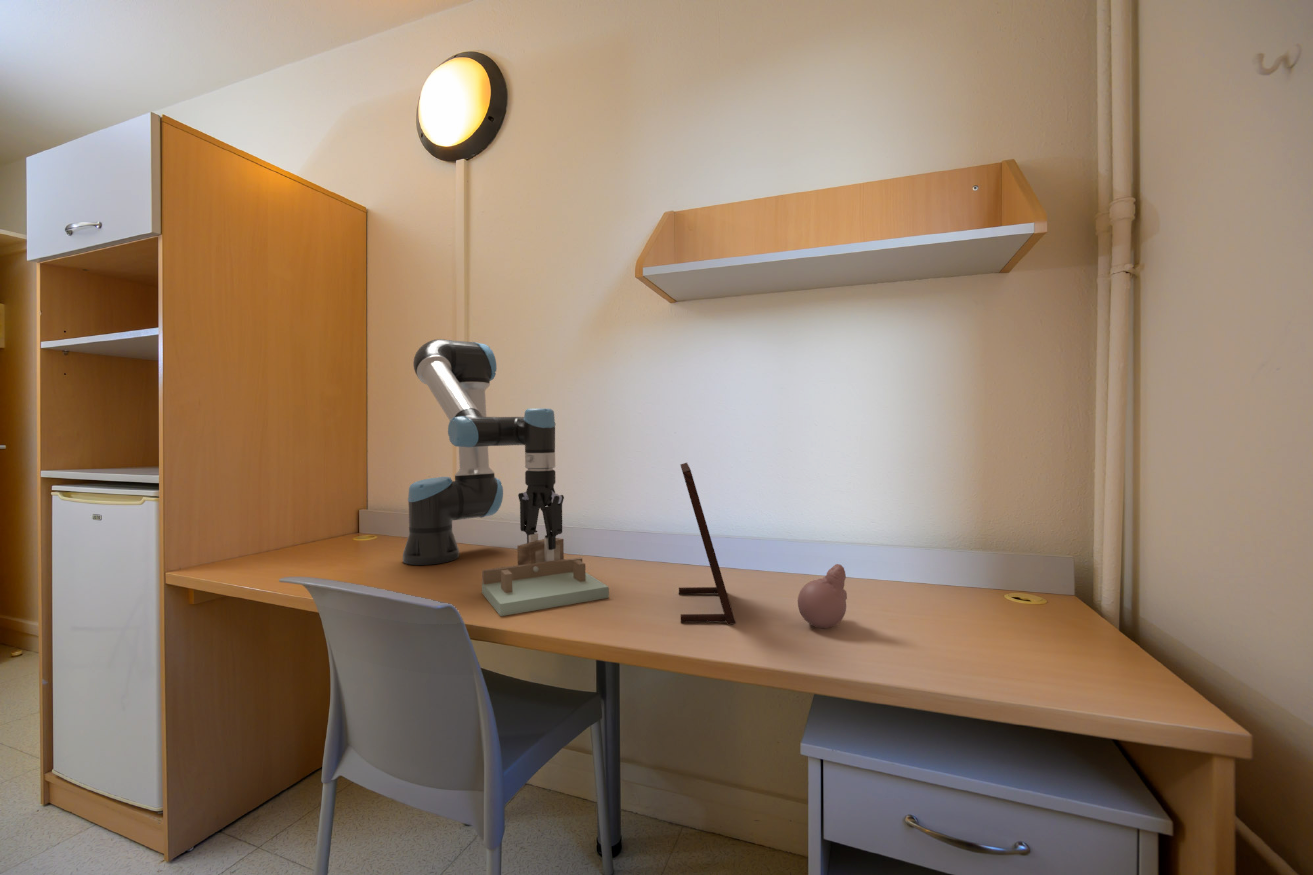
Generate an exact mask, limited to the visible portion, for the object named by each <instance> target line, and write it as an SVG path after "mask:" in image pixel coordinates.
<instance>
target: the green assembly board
mask: <svg viewBox="0 0 1313 875" xmlns="http://www.w3.org/2000/svg"><path fill="white" fill-rule="evenodd" d="M481 577H482V578H481V580H482V581H481V594H482V595H483V596H484V598H485V599H486V600H487V601H488V602H489V604H490V605H491V607H492V608H493V609H494V610H495V611H496V612H497V614H498V615H499V616H500V617H505V616H509V615H510V616H511V615H516V614H521V613H527V612H532V611H533V612H534V611H539V610H546V609H550V608H556V607H563V606H569V605H574V604H580V603H586V602H591V601H598V600H603V599H609V597H610V590H609V589H610V587H609V585H607V584H605V583H603V582H601V581H600V580H598V579H597V578H595V577H594V576H592V575H591V574H589V573H587V572H586V563H585V562H583V558H582V557H580V556H579V557H571V558H564V559H563V560H555V561H547V562H539V563H532V564H524V565H518V564H517V565H511V566H502V567H494V568H486V569H482V570H481Z"/></svg>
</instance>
